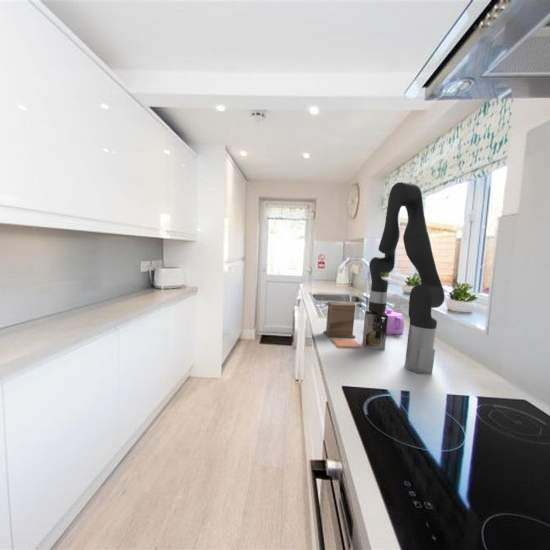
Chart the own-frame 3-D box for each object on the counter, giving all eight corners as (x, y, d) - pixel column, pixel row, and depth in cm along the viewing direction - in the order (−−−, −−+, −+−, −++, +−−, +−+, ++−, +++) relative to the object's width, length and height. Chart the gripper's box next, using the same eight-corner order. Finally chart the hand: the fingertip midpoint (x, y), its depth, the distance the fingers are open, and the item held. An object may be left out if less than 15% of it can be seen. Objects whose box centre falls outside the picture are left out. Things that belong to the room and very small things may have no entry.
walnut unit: (354, 338, 151) (358, 305, 149) (327, 337, 149) (330, 304, 147) (349, 333, 159) (352, 302, 157) (323, 332, 157) (326, 301, 155)
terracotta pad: (361, 348, 136) (362, 346, 136) (338, 347, 135) (338, 346, 135) (352, 340, 147) (352, 338, 147) (331, 339, 146) (331, 338, 146)
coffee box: (381, 345, 142) (384, 312, 141) (384, 350, 136) (388, 315, 134) (361, 343, 143) (365, 310, 142) (364, 348, 137) (367, 313, 135)
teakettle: (403, 337, 158) (406, 314, 156) (369, 332, 164) (371, 310, 163) (403, 330, 173) (405, 308, 172) (372, 325, 180) (374, 304, 178)
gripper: (363, 297, 144) (360, 331, 146) (377, 304, 130) (373, 341, 131) (378, 298, 145) (374, 331, 147) (393, 304, 131) (389, 341, 132)
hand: (374, 336), depth 139 cm, fingers closed on coffee box, 7 cm apart
